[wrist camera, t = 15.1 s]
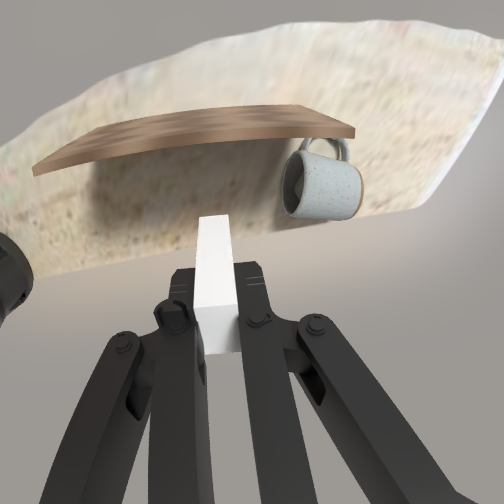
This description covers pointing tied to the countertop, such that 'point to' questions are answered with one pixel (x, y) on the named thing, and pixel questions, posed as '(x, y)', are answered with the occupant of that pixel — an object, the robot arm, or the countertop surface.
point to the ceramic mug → (321, 185)
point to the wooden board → (195, 132)
